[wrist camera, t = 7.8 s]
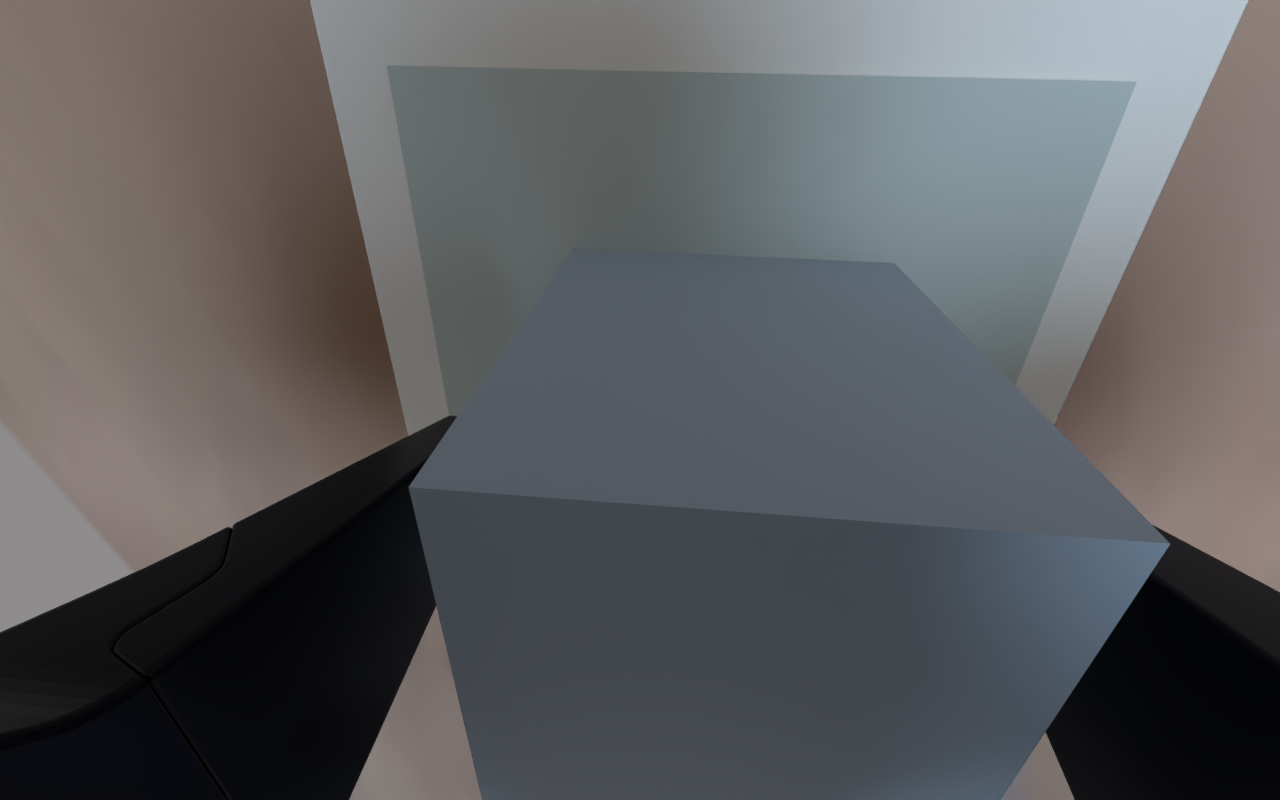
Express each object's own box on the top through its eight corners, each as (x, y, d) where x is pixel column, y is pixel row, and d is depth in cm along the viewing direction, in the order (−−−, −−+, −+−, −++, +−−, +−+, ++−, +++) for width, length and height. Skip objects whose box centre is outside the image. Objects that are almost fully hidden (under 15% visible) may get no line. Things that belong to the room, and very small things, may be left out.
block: (832, 511, 11) (943, 884, 6) (582, 493, 12) (490, 832, 7) (893, 263, 9) (1170, 543, 4) (572, 248, 9) (407, 486, 4)
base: (920, 555, 15) (960, 642, 13) (477, 521, 16) (441, 597, 14) (1121, 6, 9) (1263, -13, 7) (390, -3, 10) (298, -23, 8)
